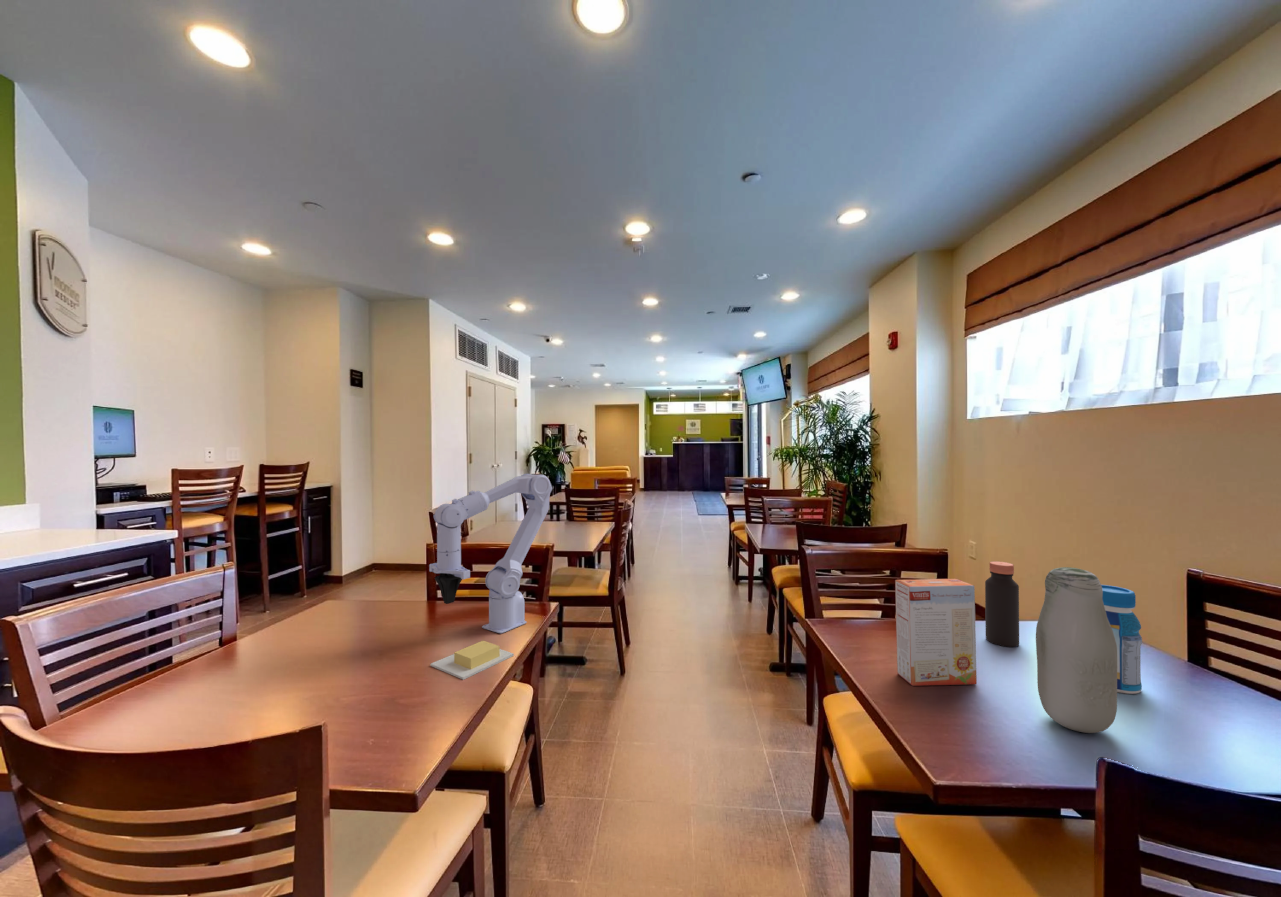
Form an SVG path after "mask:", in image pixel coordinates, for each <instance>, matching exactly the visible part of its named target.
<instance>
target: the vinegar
mask: <svg viewBox="0 0 1281 897" xmlns="http://www.w3.org/2000/svg"><path fill="white" fill-rule="evenodd" d="M989 573H990V574H991V575H990V576H989V577H988V578H987V579H986V580H985V582H984V594H985V595H984V596H985V597H984V598H985V600H984V602H985V603H984V607H985V610H984V612H985V614H984V615H985V622H984V624H985V639H986V640H987V641H988V642H990V643H991V644H994V645H997V646H1002V647H1005V648H1006V647H1009V648H1016V647H1018V646H1019V645H1020V591H1019V590H1020V586H1019V584H1018V583H1017V582H1016V581H1015V580H1014V579H1013V576H1014V574H1015V565H1014V564H1013V563H1010V562H1006V561H990V562H989Z"/></svg>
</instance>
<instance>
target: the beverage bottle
mask: <svg viewBox="0 0 1281 897" xmlns="http://www.w3.org/2000/svg"><path fill="white" fill-rule="evenodd" d="M1101 586H1102V590H1103V596H1102V600H1103V603H1104V607H1105V611H1106V615H1107V618H1108V621H1109V623H1110V626H1111V628H1112V630H1113V634H1114V637H1115V641H1116V645H1117V693H1119V694H1126V695H1127V694H1128V695H1132V694H1133V695H1134V694H1139V693H1141V692H1142V686H1143V685H1142V679H1141V676H1142V675H1141V648H1142V647H1141V646H1142V644H1143V637H1142V636H1141V633H1140V631H1141V630H1142V624H1141V622H1140V620H1139V618H1138V617H1137V616H1136V614H1135V613H1134V612H1133V611H1132V610H1134V609H1135V608H1136V605H1137V604H1136V603H1137V602H1136V593H1135V591H1133V590H1131V589H1128V588H1124V587H1121V586H1120V587H1119V586H1114V585H1109V584H1108V585H1107V584H1101Z"/></svg>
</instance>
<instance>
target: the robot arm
mask: <svg viewBox="0 0 1281 897" xmlns="http://www.w3.org/2000/svg"><path fill="white" fill-rule="evenodd" d="M552 491H553V485H552V483H551V481H550V479H549V478H548V476H546V475H544V474H533V473H532V474H531V473H524V474H521V475H519V476H518V475H517V476H515V477H512V478H511V479H508V480H507V481H505V482H503V483H501V484H499V485H497V486H495V487H493V488H491V489H488V490H487V491H485V492H483V491H480V490H476V491H475V490H471V491H469V492H468V494H467V495H465V496H463V497H460V498H458V499H457V498H453V499H451V503H443V504H441V505H439V506H438V507H437V508H436V510H435V511H434V514H433V519H434V522H436V524H437V527H436V528H437V529H436V530H437V532H436V545H437V546H436V551H437V552H436V558H437V559H436V560H437V561H436V562H434V563H430V564H429V565H428V567H429V569H428V570H429V572H430V573H431V572H432V573H434V574H439V575H436V576H435V577H434V581H435V582H436V583H437V586H438V587H439V589H440V593H441V595H442V596H441V597H442V601H443V603H444V604H445V605H448V604H449V605H450V604H453V603H455V600H456V596H457V592H458V589H459V586H460V584H461V583H462V580H467V579H471V570H470V569H467V568H465V567H464V566H462V532H461V530H462V529H461V528H462V527H461V526H462V524H463V523H464V521H465V520H468V519H471V517H474V516H476V515H478V514H480V513H482V512H484V511H486V510H488V507H489V506H490V504H491V503H494V502H496V501H498V500H501V499H503V498H507V497H508V496H510V495H513V494H516V493H517V494H521V496H522V497H523V498H524V500H525V501H526V503H527V504H526V505H527V506H528V509H527V511H526V514H525V515H524V517H523V519H522V521H521V523H520V525H519V526H518V529H517V531H516V533H515V534H514V537H513V538H512V540H511V542H510V544H509V546H508V549H507V550H506V552H505V554H504V556H503V557H502V558H501V559H499V560H497V562H496V563H495V565H494V566H493V568H492V569H491V570H489V571H488V573H487V574H486V576H485V580H484V581H485V586H486V587H487V588H488V589H489V592H488V623H486V624H484V625H482V626H481V628H482V629H484V630H488V631H492V632H493V633H498V634H504V633H505V632H510V631H511V630H513V629H516V628H518V627H520V626H523V625H525V624H527V623H528V622H527V621H526V620H525V607H526V605H525V599H524V598H525V597H524V595H523V594H522V592H521V591H519V588H520V585H521V578H522V577H523V569H522V568H523V567H522V564H523V562H524V560H525V558H526V556H527V554H528V552H529V550H530V548H531V546H532V544H533V543H534V540H535V538H536V536H537V534H538V532H539V530H540V528H541V526H542V524H543V522H544V520H545V518H546V517H547V514H548V512H549V509H550V497H551V496H550V495H551V493H552Z"/></svg>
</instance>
